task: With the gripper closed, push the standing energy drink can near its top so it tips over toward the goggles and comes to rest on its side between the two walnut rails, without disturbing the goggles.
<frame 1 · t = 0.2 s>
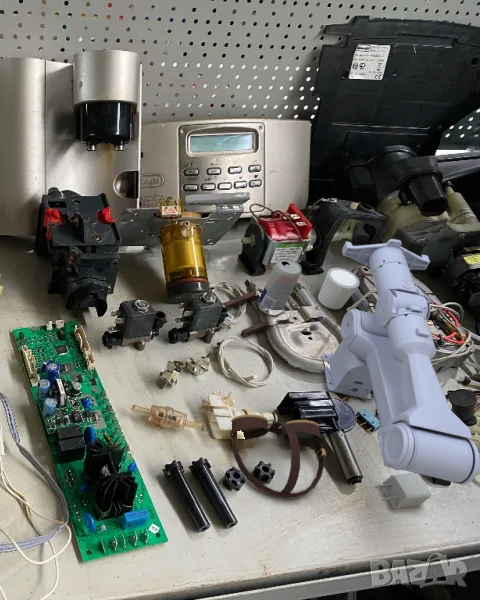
hand: (376, 229, 103), 21 cm above the table, tool horizontal, fingers open, 7 cm apart
goggles: (273, 463, 88), on the table
usb wall charger: (392, 497, 85), on the table
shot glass: (330, 301, 119), on the table
energy drink: (269, 308, 116), on the table
cradle: (251, 314, 113), on the table
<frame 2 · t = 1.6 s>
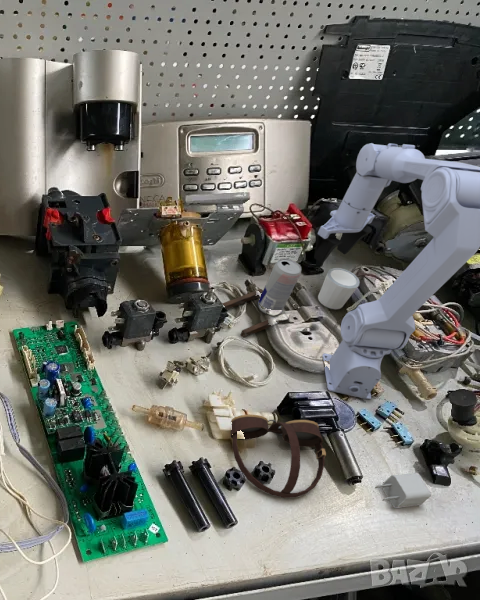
hand: (330, 255, 114), 10 cm above the table, tool pointing down, fingers open, 7 cm apart
nothing on the table moved.
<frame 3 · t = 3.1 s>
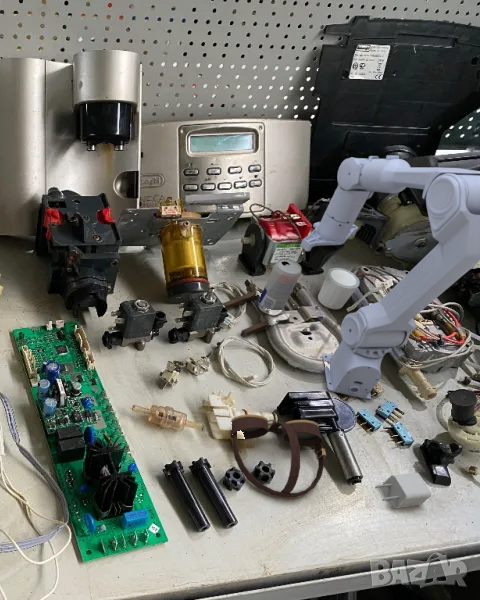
hand: (313, 267, 114), 8 cm above the table, tool pointing down, fingers closed
nothing on the table moved.
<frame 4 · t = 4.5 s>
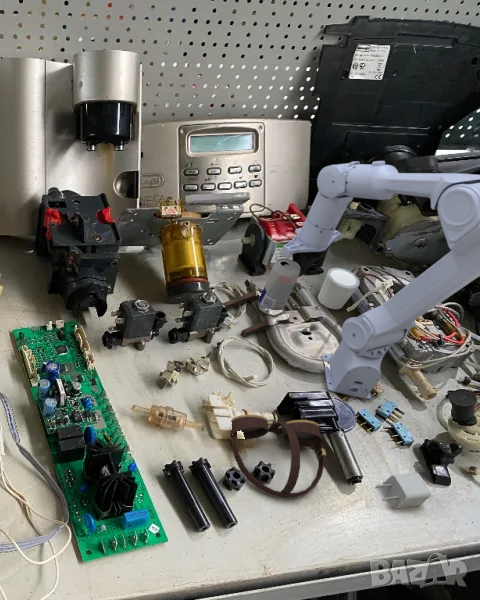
hand: (295, 274, 111), 8 cm above the table, tool pointing down, fingers closed
energy drink: (269, 308, 116), on the table, touching gripper
everything else where it was.
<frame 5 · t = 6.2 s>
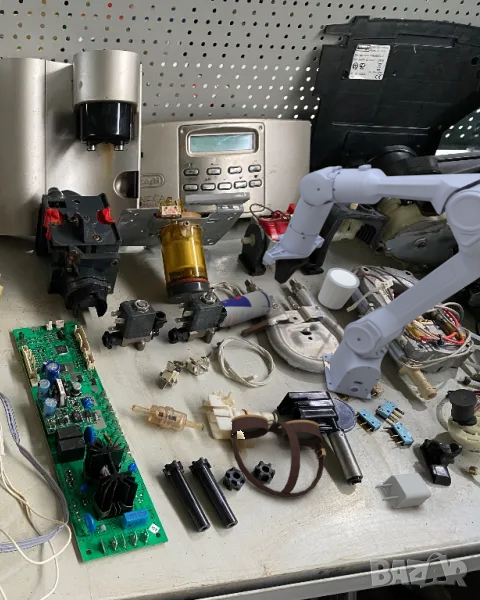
hand: (279, 280, 109), 8 cm above the table, tool pointing down, fingers closed
energy drink: (264, 301, 113), point 3 cm above the table
everything else where it was.
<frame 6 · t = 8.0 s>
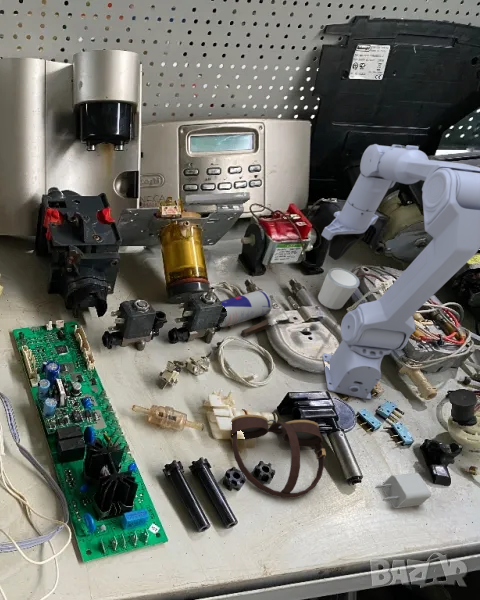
hand: (333, 256, 114), 10 cm above the table, tool pointing down, fingers closed
nothing on the table moved.
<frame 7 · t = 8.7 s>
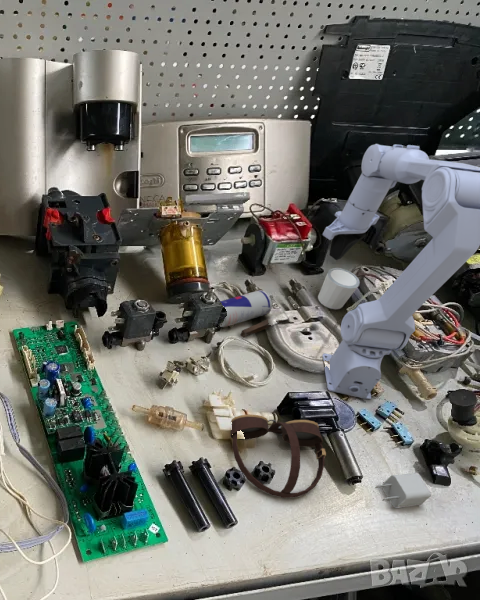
hand: (334, 256, 114), 10 cm above the table, tool pointing down, fingers closed
nothing on the table moved.
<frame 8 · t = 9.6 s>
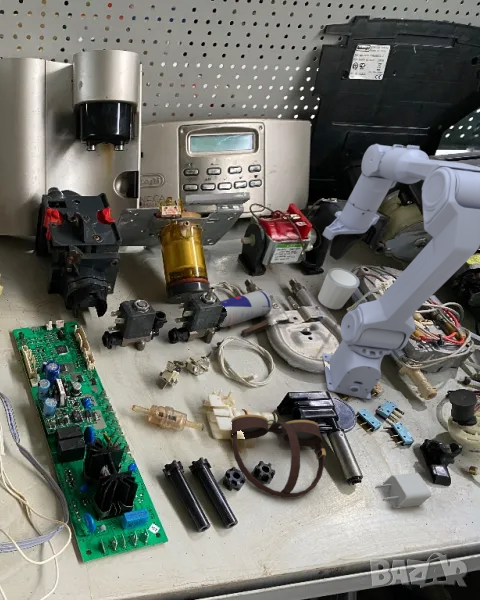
hand: (334, 256, 114), 10 cm above the table, tool pointing down, fingers closed
nothing on the table moved.
at the end: energy drink tilted 90°; goggles moved 0.2 cm from its start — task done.
